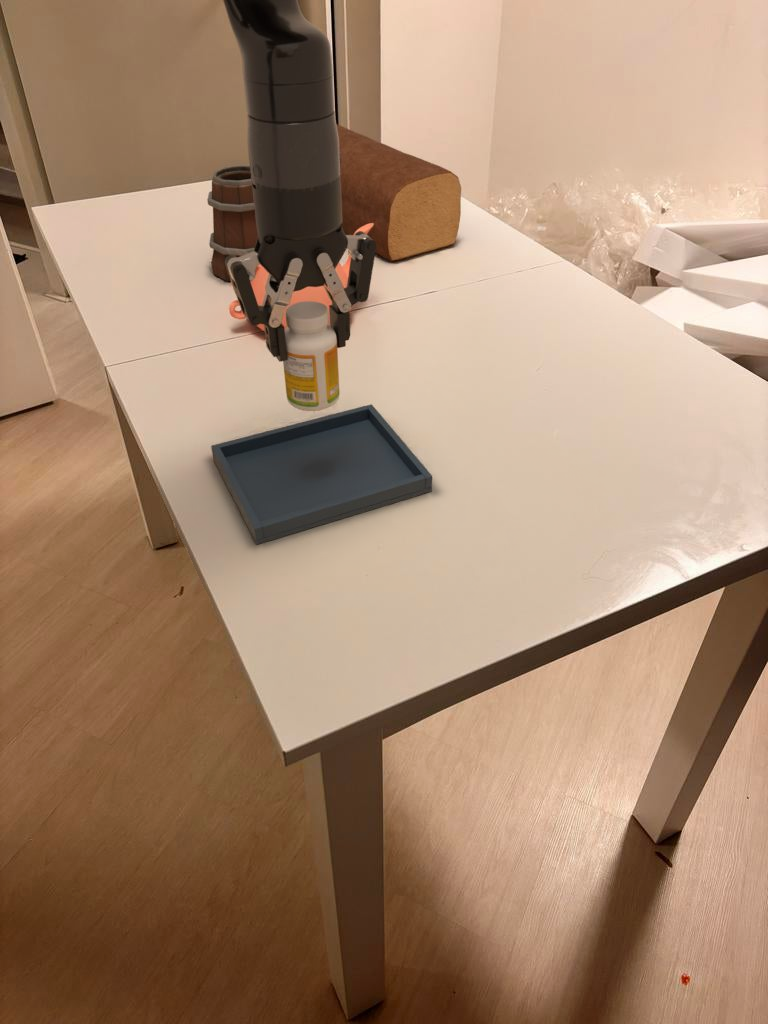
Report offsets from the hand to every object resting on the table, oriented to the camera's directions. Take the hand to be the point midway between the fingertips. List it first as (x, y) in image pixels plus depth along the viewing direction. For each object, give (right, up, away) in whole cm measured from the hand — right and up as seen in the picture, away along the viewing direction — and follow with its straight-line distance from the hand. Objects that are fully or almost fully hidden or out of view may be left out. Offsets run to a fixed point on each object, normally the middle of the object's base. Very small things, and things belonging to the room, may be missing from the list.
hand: (309, 350), depth 78 cm
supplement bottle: (0, -4, +4) cm, 6 cm away
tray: (0, -12, +10) cm, 15 cm away
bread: (+3, +37, +68) cm, 78 cm away
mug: (-16, +25, +54) cm, 62 cm away
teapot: (-4, +12, +39) cm, 41 cm away
